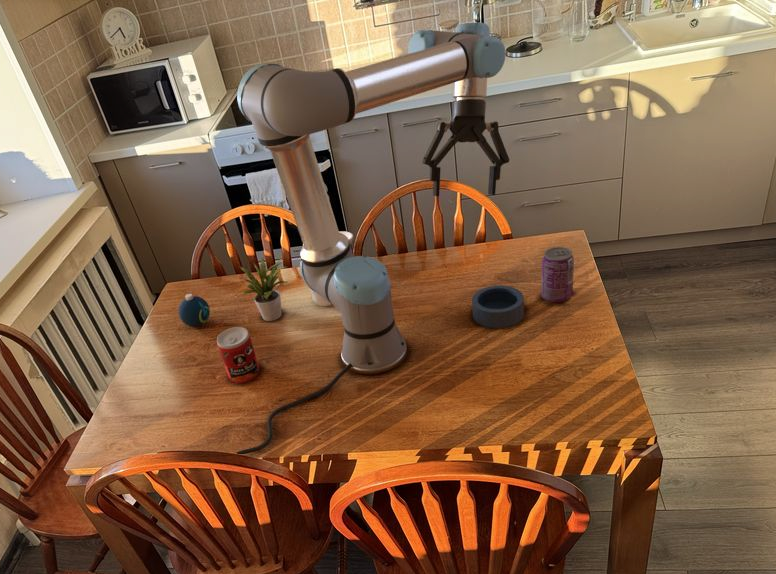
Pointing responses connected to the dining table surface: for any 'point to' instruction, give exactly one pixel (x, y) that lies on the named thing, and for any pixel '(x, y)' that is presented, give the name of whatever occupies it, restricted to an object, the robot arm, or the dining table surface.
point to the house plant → (266, 291)
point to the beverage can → (557, 274)
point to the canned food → (238, 354)
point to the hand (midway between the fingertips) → (463, 195)
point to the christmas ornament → (194, 311)
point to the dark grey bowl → (498, 306)
